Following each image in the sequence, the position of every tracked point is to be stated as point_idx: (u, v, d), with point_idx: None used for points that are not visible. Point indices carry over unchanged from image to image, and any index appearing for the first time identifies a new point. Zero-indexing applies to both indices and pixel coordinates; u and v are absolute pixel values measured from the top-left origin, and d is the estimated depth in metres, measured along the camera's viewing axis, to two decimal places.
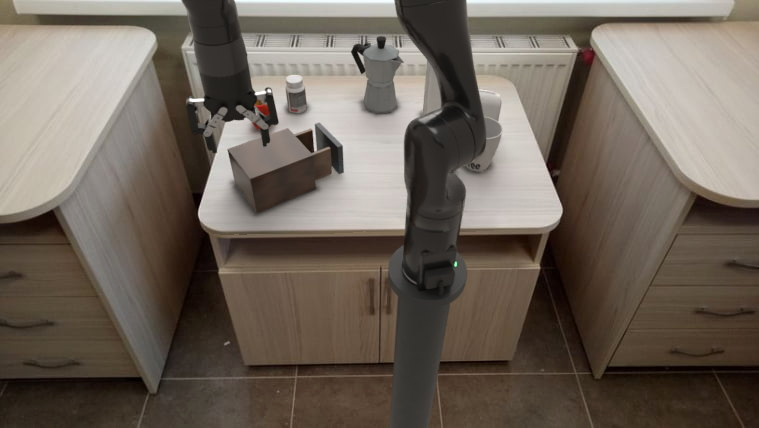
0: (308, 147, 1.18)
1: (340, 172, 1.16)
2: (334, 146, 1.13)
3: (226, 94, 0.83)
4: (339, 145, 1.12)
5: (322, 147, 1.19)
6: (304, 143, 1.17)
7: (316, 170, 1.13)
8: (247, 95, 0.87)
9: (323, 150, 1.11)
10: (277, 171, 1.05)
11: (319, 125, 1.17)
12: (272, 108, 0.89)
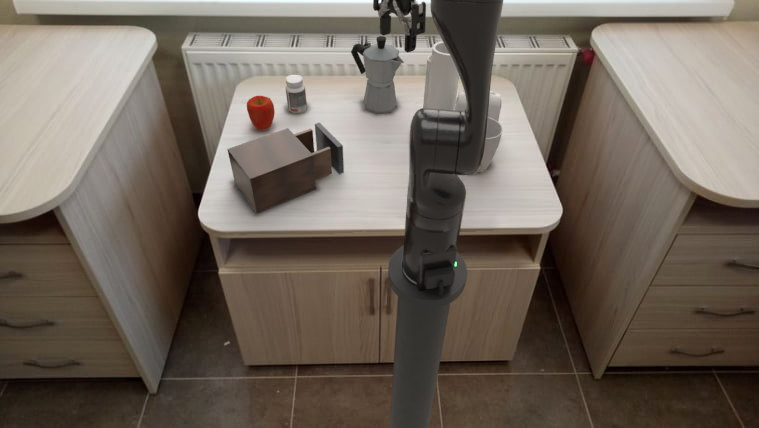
0: (308, 147, 1.18)
1: (340, 172, 1.16)
2: (334, 146, 1.13)
3: None
4: (339, 145, 1.12)
5: (322, 147, 1.19)
6: (304, 143, 1.17)
7: (316, 170, 1.13)
8: None
9: (323, 150, 1.11)
10: (277, 171, 1.05)
11: (319, 125, 1.17)
12: (413, 18, 1.01)
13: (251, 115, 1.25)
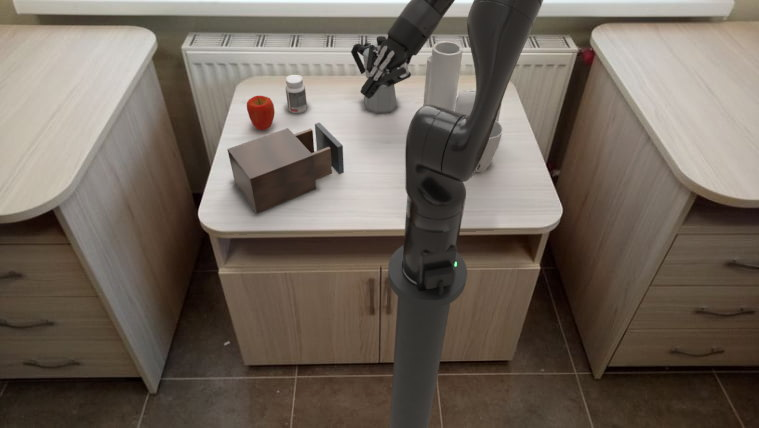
0: (308, 147, 1.18)
1: (340, 172, 1.16)
2: (334, 146, 1.13)
3: (393, 30, 1.08)
4: (339, 145, 1.12)
5: (322, 147, 1.19)
6: (304, 143, 1.17)
7: (316, 170, 1.13)
8: (403, 51, 1.09)
9: (323, 150, 1.11)
10: (277, 171, 1.05)
11: (319, 125, 1.17)
12: (393, 74, 1.09)
13: (251, 115, 1.25)
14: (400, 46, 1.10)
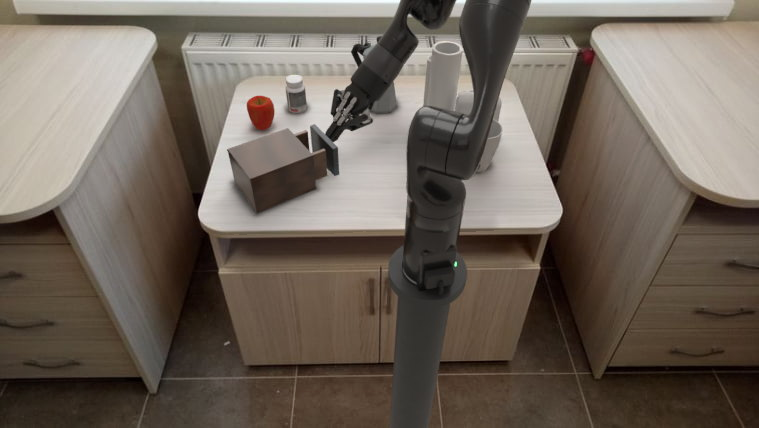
0: None
1: (335, 174, 1.16)
2: (329, 148, 1.12)
3: (355, 77, 1.10)
4: (334, 147, 1.11)
5: (317, 149, 1.18)
6: None
7: None
8: (365, 98, 1.11)
9: (318, 152, 1.10)
10: (277, 171, 1.05)
11: (315, 126, 1.17)
12: (355, 120, 1.11)
13: (251, 115, 1.25)
14: (362, 92, 1.11)
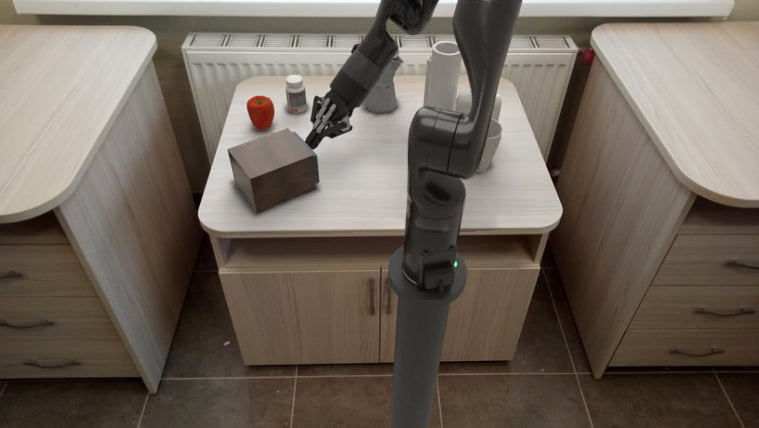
0: None
1: None
2: None
3: (334, 84, 1.08)
4: (313, 155, 1.09)
5: None
6: None
7: None
8: (344, 105, 1.08)
9: None
10: (277, 171, 1.05)
11: (294, 133, 1.15)
12: (334, 127, 1.08)
13: (251, 115, 1.25)
14: (342, 99, 1.09)
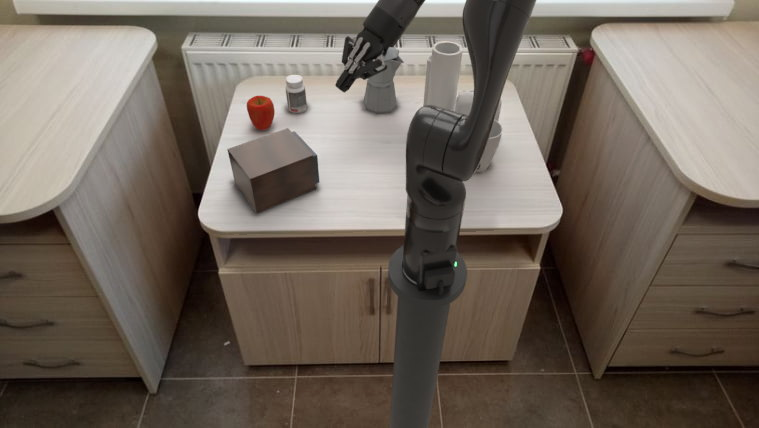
0: None
1: None
2: None
3: (369, 20, 1.04)
4: (313, 155, 1.09)
5: None
6: None
7: None
8: (379, 43, 1.04)
9: None
10: (277, 171, 1.05)
11: (294, 133, 1.15)
12: (369, 66, 1.04)
13: (251, 115, 1.25)
14: (376, 37, 1.05)
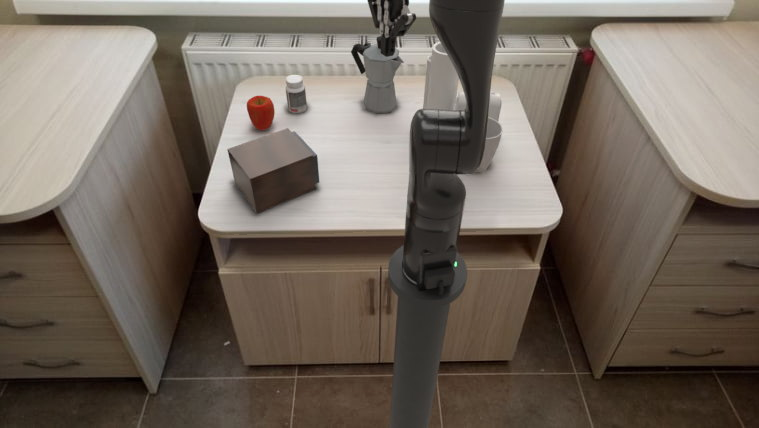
0: None
1: None
2: None
3: None
4: (313, 155, 1.09)
5: None
6: None
7: None
8: None
9: None
10: (277, 171, 1.05)
11: (294, 133, 1.15)
12: (398, 25, 0.96)
13: (251, 115, 1.25)
14: None
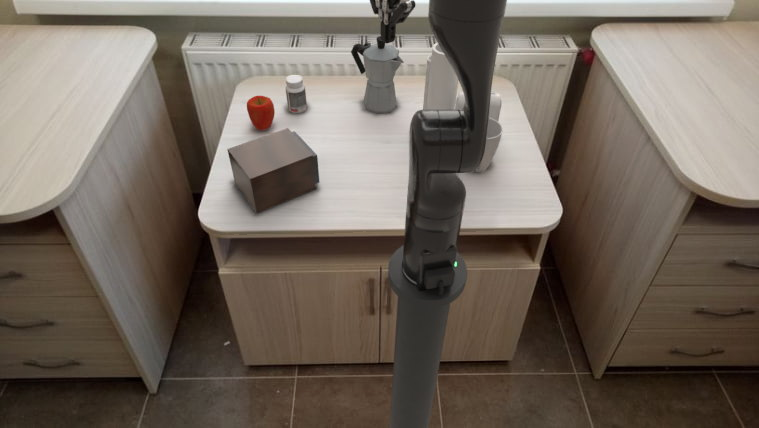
0: None
1: None
2: None
3: None
4: (313, 155, 1.09)
5: None
6: None
7: None
8: None
9: None
10: (277, 171, 1.05)
11: (294, 133, 1.15)
12: (397, 13, 0.93)
13: (251, 115, 1.25)
14: None
